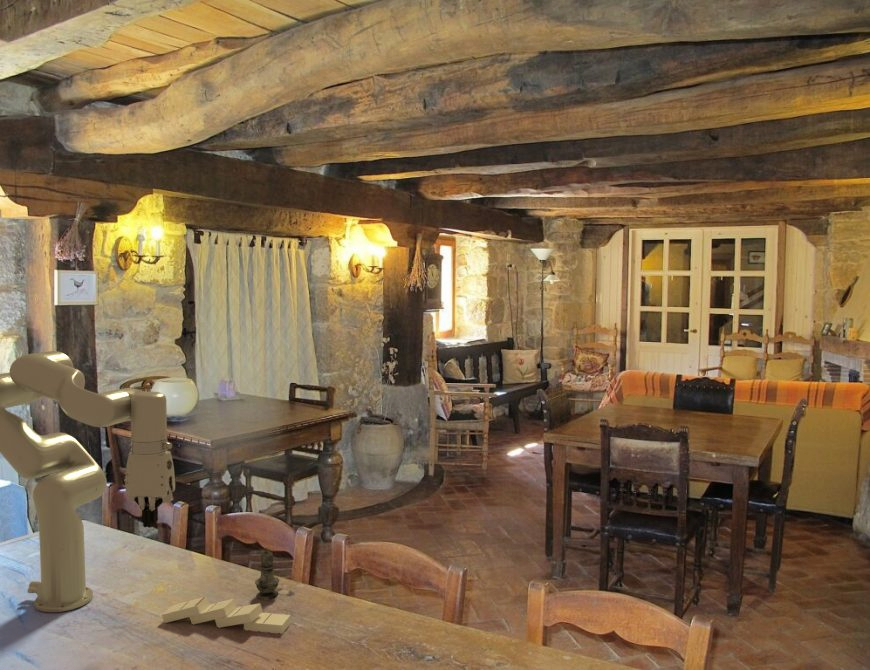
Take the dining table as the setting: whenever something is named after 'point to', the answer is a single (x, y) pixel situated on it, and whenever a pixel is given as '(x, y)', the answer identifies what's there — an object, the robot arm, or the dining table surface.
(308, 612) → the dining table surface
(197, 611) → the domino
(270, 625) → the domino
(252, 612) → the domino
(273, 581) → the dark chess piece
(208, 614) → the domino
